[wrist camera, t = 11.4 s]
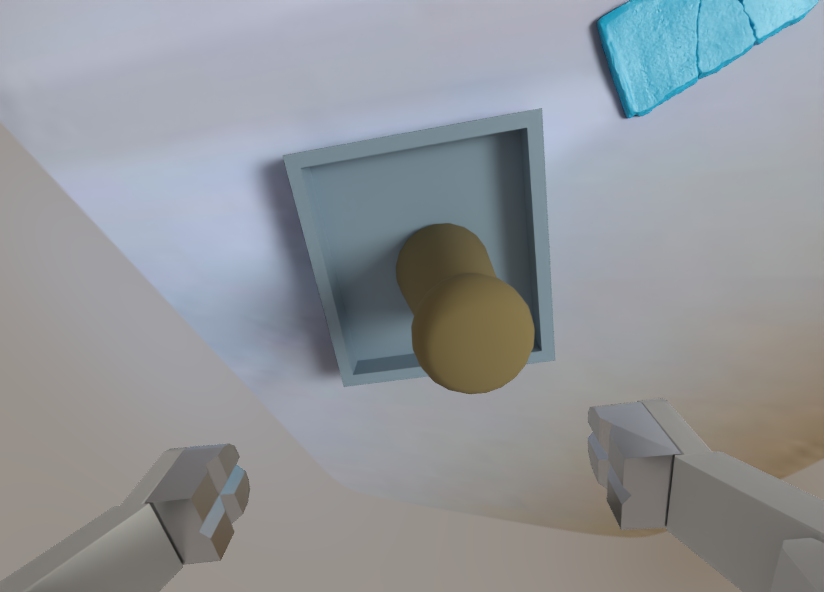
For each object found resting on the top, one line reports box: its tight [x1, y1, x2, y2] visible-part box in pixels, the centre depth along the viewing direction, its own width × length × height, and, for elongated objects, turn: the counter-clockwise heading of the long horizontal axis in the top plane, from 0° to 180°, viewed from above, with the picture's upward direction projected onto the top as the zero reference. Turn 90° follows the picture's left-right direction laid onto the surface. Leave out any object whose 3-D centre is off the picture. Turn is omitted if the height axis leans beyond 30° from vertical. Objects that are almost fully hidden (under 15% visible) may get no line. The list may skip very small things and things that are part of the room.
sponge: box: [597, 0, 819, 118], centre depth 22 cm, size 2×12×6 cm
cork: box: [396, 223, 535, 394], centre depth 21 cm, size 6×6×11 cm
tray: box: [283, 108, 555, 387], centre depth 26 cm, size 15×14×2 cm
